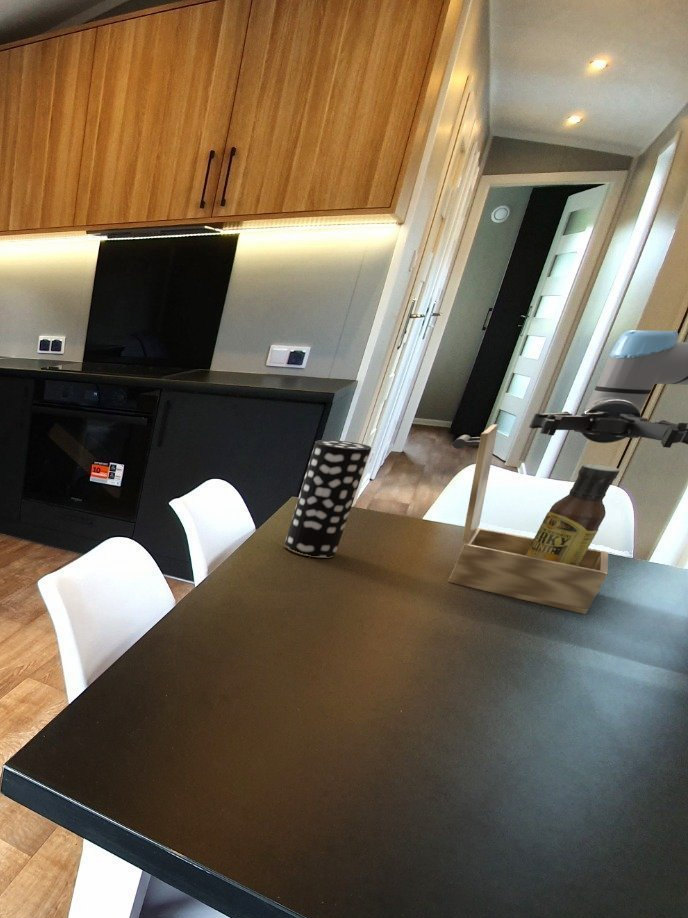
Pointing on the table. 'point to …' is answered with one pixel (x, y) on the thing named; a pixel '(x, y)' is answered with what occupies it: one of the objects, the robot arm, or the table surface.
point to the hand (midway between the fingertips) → (610, 432)
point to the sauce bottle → (574, 518)
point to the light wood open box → (528, 572)
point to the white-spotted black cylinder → (326, 497)
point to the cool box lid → (478, 476)
